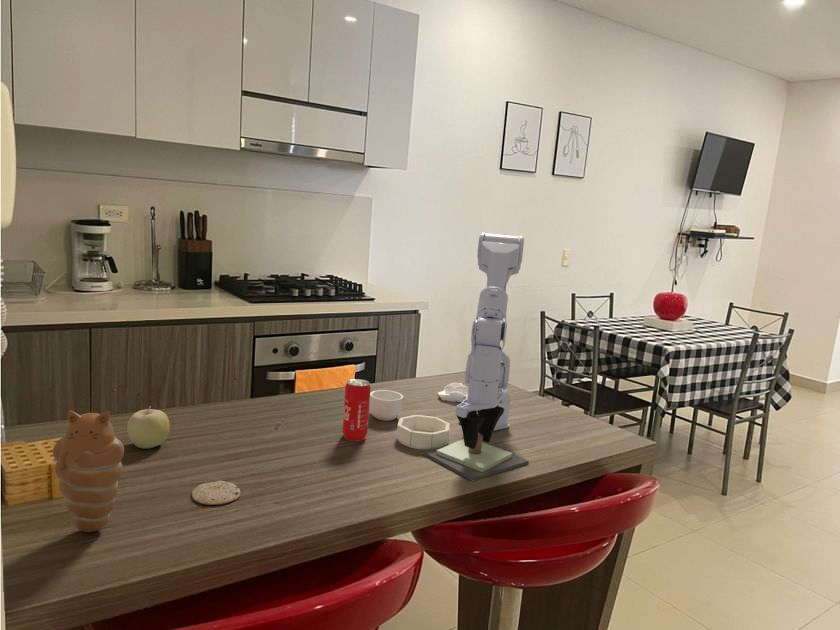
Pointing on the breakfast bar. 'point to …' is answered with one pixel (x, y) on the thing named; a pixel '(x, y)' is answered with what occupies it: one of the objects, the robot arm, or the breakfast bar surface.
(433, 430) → the bowl
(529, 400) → the breakfast bar surface
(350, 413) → the beverage can
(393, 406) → the teacup
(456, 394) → the white rounded piece
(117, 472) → the cat ice cream
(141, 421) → the fruit
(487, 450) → the lid
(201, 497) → the flatbread
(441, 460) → the mat
